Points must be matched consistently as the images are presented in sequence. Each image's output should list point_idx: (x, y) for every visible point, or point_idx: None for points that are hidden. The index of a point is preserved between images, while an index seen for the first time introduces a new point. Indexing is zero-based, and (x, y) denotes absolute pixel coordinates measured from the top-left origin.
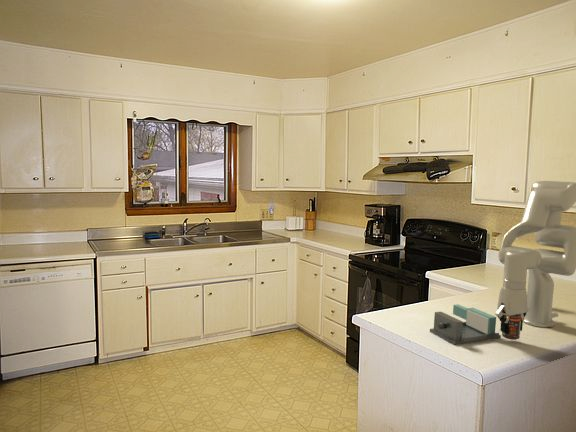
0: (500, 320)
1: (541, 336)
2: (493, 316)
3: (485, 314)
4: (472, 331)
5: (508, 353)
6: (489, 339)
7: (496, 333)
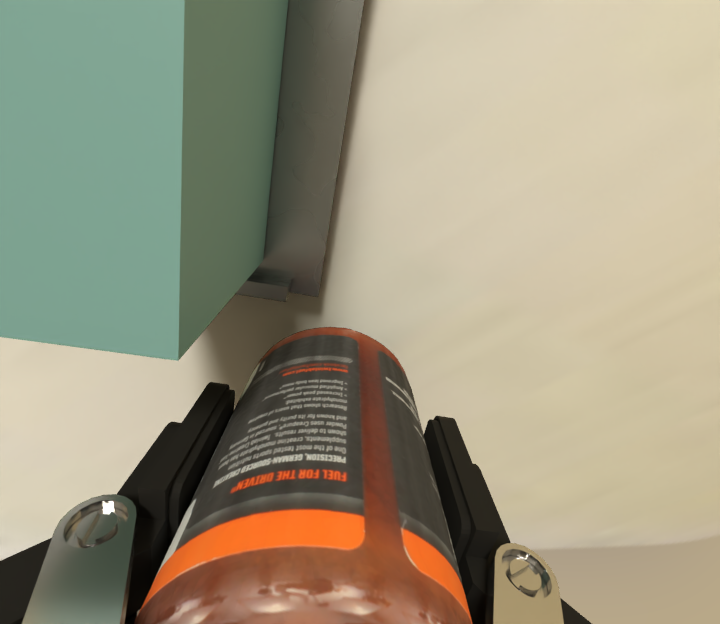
0: (71, 525)
1: (676, 412)
2: (143, 306)
3: (38, 74)
4: None
5: (101, 490)
6: None
7: (246, 293)
